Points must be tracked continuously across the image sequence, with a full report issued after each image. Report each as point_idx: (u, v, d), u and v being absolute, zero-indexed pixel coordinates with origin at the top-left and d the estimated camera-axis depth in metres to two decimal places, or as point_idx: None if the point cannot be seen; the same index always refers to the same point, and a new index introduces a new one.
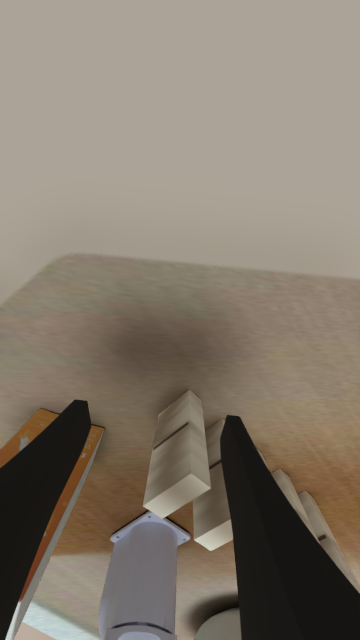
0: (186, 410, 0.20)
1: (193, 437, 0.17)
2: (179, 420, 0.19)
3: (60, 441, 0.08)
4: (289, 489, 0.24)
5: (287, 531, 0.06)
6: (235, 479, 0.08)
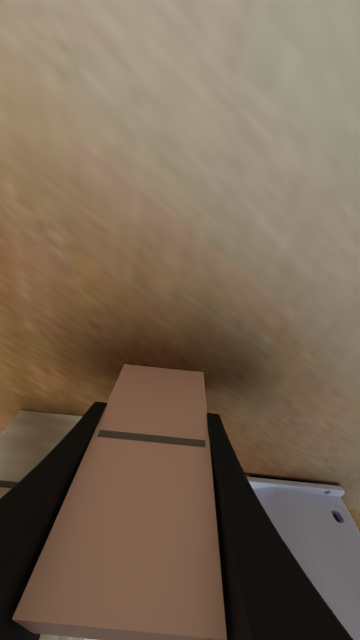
0: None
1: None
2: None
3: (85, 444, 0.08)
4: None
5: (251, 527, 0.06)
6: None
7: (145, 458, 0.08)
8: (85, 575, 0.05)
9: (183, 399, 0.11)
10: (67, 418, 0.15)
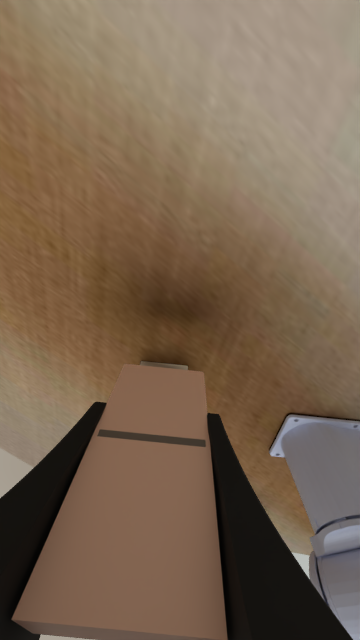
0: None
1: None
2: None
3: (85, 444, 0.08)
4: None
5: (251, 527, 0.06)
6: None
7: (145, 458, 0.08)
8: (85, 575, 0.05)
9: (183, 398, 0.11)
10: (175, 366, 0.21)
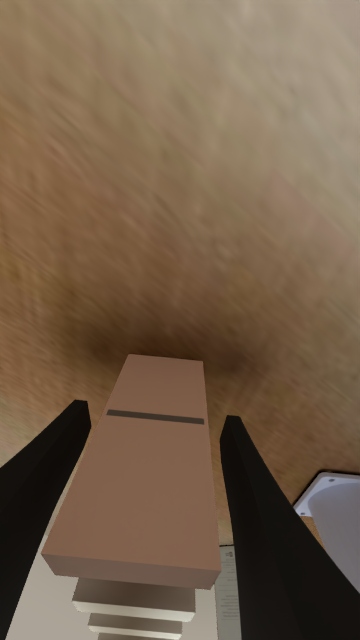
0: None
1: None
2: None
3: (60, 441, 0.08)
4: None
5: (287, 531, 0.06)
6: (235, 479, 0.08)
7: (150, 433, 0.09)
8: (100, 522, 0.06)
9: (184, 384, 0.12)
10: None
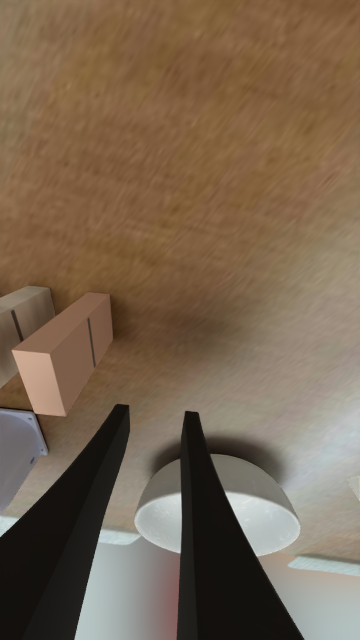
0: None
1: None
2: None
3: (112, 446, 0.08)
4: None
5: (215, 524, 0.06)
6: (185, 474, 0.08)
7: (86, 349, 0.15)
8: (62, 365, 0.12)
9: (104, 342, 0.18)
10: None
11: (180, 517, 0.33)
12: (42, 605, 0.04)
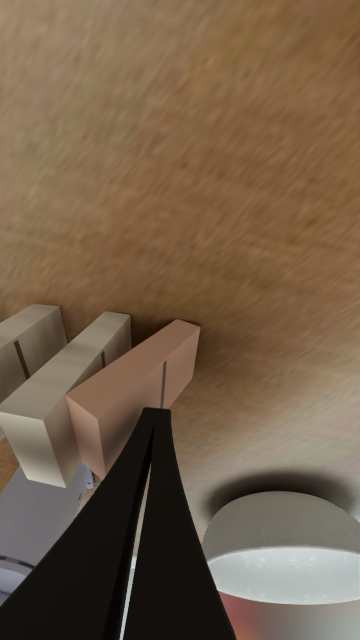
0: None
1: None
2: None
3: (147, 450, 0.08)
4: (13, 317, 0.13)
5: (166, 519, 0.06)
6: None
7: (154, 398, 0.12)
8: (114, 427, 0.09)
9: (179, 384, 0.15)
10: None
11: (236, 554, 0.30)
12: (108, 611, 0.04)
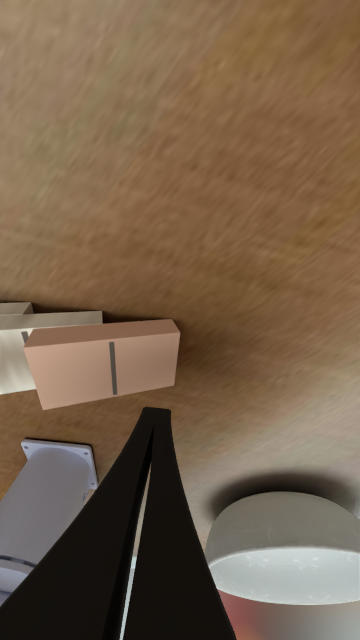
0: None
1: None
2: None
3: (147, 450, 0.08)
4: None
5: (166, 519, 0.06)
6: None
7: (100, 370, 0.13)
8: (44, 365, 0.12)
9: (146, 379, 0.15)
10: None
11: (239, 554, 0.30)
12: (108, 611, 0.04)
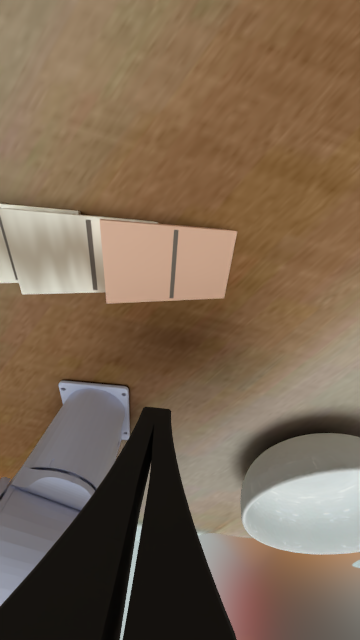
0: None
1: None
2: None
3: (147, 450, 0.08)
4: None
5: (166, 519, 0.06)
6: None
7: (162, 264, 0.13)
8: (114, 246, 0.12)
9: (200, 284, 0.15)
10: None
11: (270, 509, 0.30)
12: (108, 611, 0.04)
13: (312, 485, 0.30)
